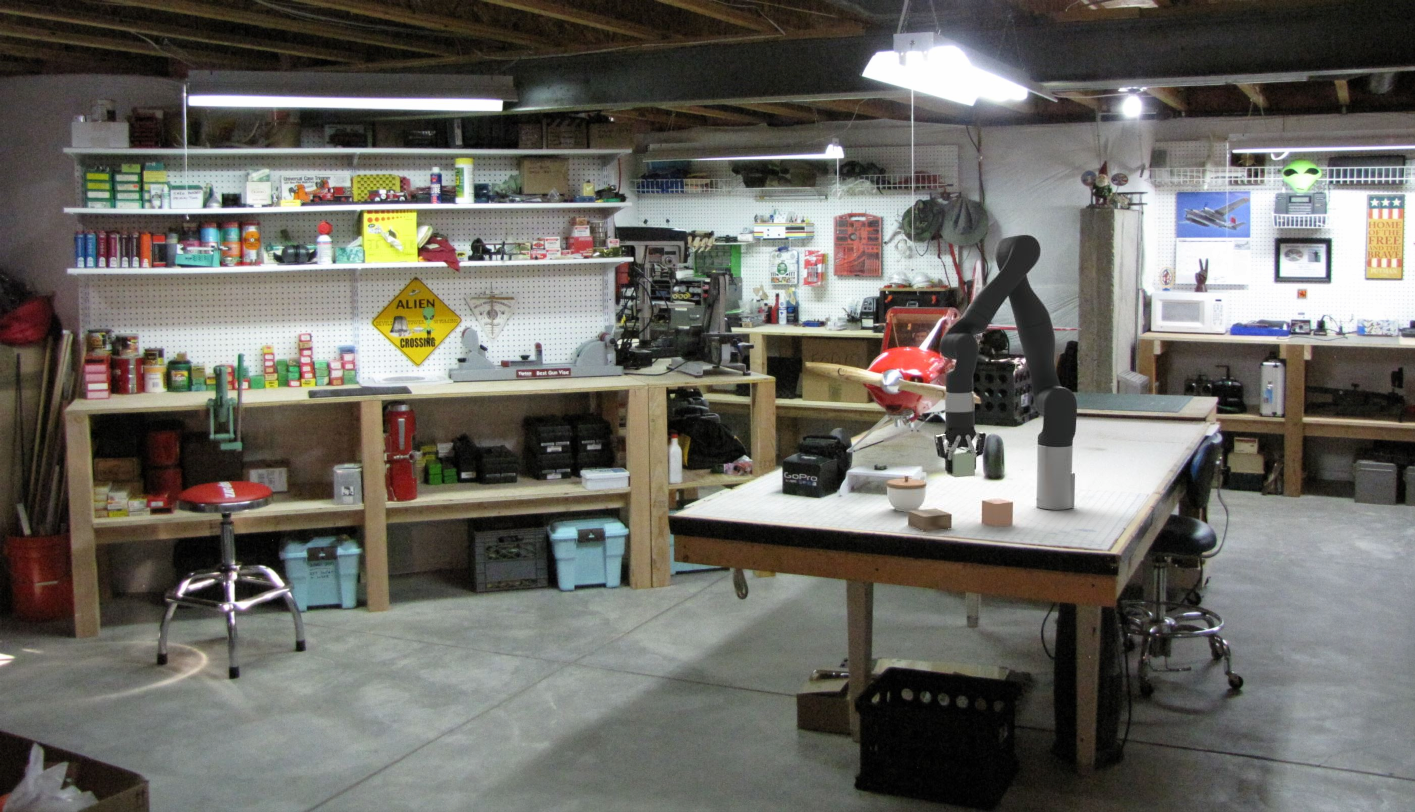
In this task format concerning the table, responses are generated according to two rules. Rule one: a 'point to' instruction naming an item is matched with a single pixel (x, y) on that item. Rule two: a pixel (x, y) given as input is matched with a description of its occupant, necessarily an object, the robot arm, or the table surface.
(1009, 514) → the terracotta block
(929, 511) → the walnut base
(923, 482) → the lidded jar
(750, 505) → the table surface
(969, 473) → the sage block
